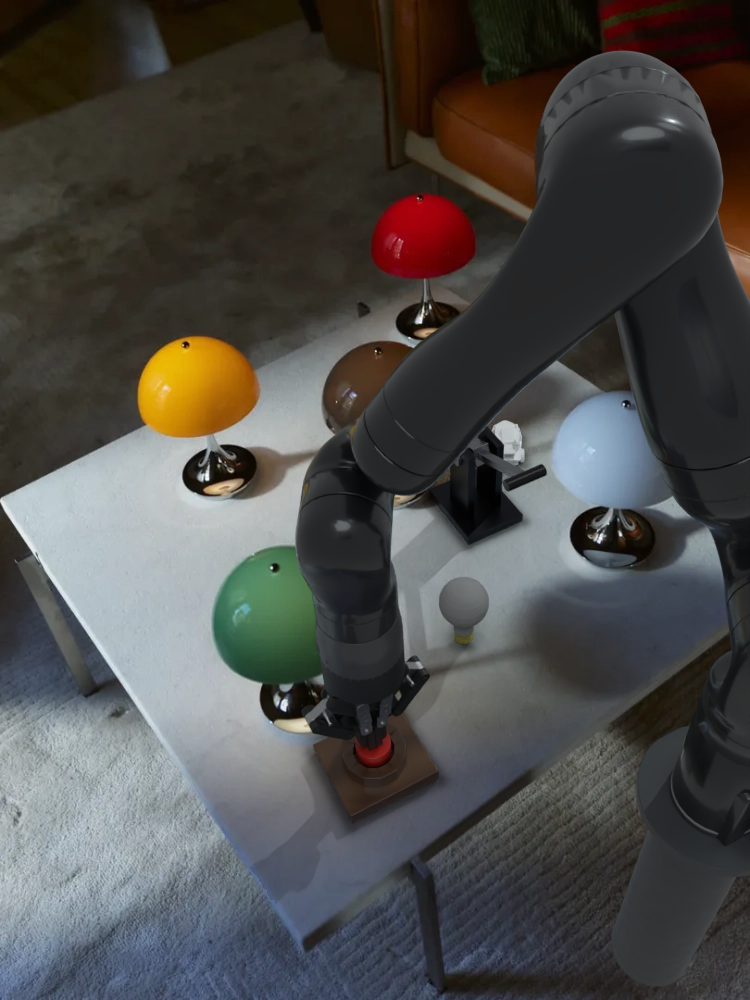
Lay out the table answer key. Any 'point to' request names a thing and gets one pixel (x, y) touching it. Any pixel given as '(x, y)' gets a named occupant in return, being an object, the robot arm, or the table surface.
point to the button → (374, 753)
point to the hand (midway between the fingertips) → (371, 740)
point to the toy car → (510, 441)
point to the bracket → (476, 495)
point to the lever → (505, 466)
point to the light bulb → (463, 606)
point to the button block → (376, 770)
